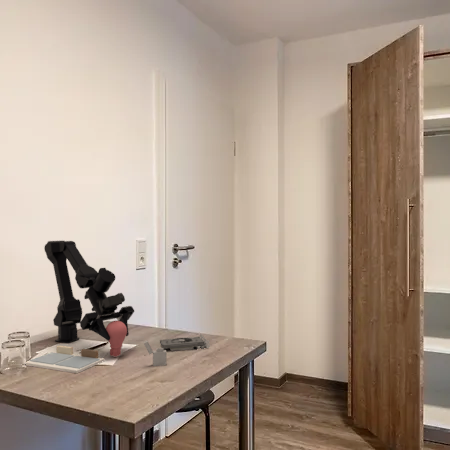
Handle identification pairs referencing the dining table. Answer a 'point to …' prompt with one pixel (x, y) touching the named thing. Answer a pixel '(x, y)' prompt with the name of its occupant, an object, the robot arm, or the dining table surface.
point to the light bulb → (116, 336)
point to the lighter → (156, 355)
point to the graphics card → (185, 343)
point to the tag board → (67, 360)
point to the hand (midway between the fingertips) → (118, 337)
